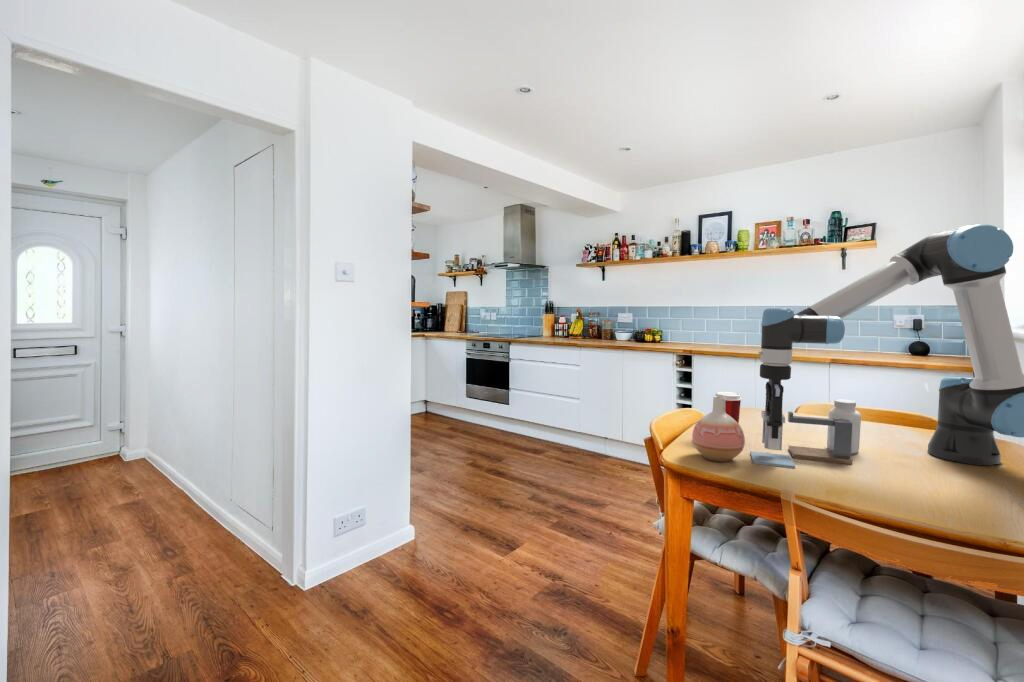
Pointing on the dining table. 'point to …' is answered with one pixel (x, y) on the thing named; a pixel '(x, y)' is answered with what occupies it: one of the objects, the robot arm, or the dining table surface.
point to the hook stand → (838, 440)
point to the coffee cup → (731, 404)
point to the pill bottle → (847, 411)
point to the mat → (772, 459)
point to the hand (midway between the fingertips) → (771, 445)
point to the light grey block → (766, 420)
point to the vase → (718, 434)
